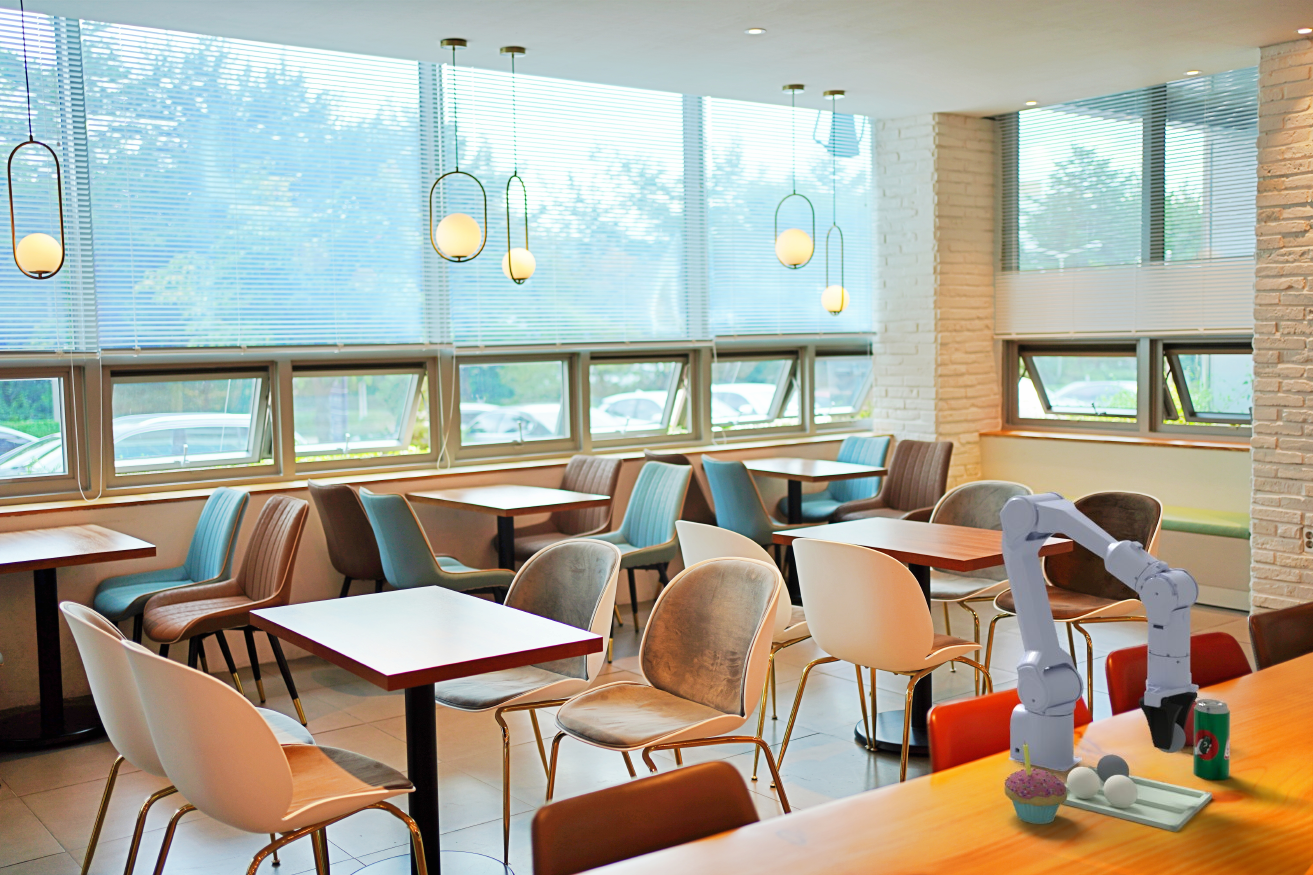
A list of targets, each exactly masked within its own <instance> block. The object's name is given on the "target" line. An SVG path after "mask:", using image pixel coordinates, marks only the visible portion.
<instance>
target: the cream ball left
mask: <svg viewBox="0 0 1313 875" xmlns="http://www.w3.org/2000/svg"><path fill="white" fill-rule="evenodd" d="M1066 783H1067V785H1068V788H1069V790H1070V791H1071V793H1072V794H1073V795H1075V796H1076V797H1078V798H1081V799H1089V798H1092V797H1094V796H1095V795H1096V794H1097V793H1098V791H1099V789H1100V780H1099V778H1098V776H1097V774H1096V773H1095V772H1094V771H1093V770H1091V769H1090V768H1089V767H1087V766H1077V767H1074V768H1073V769H1071V771H1070V772H1068V775H1067V778H1066Z"/></svg>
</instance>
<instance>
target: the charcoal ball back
mask: <svg viewBox="0 0 1313 875" xmlns="http://www.w3.org/2000/svg"><path fill="white" fill-rule="evenodd" d="M1129 767H1130V766H1129V765H1128V763H1127V762H1126V761H1125V759H1124V758H1122V757H1121V756H1118V755H1116V754H1106V755H1104V756H1102V757H1101V758H1100V759H1099V761H1098V763H1097V766H1096V768H1097V773H1098V776H1099V777H1100V779H1101V780H1102V781H1103V782H1104V783H1105V782H1106V780H1107V779H1108V778H1110V777H1111V776H1114V775H1123V776H1126V777H1129V775H1130V768H1129Z"/></svg>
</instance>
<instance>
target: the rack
mask: <svg viewBox="0 0 1313 875" xmlns="http://www.w3.org/2000/svg"><path fill="white" fill-rule="evenodd" d="M1088 768H1090V769H1091V770H1093V771H1094V772H1095V773H1096V774H1097V776H1098V773H1097V766H1096V767H1095V766H1088ZM1098 778H1099V780H1100V789H1099V791H1098V793H1097V794H1096V795H1095V796H1094V797H1092V798H1089V799H1081V798H1078V797H1076V796H1075V795H1073V794H1072V793H1071V791H1070V790H1069V788H1068V785H1067V782H1066V783H1064V785H1065V786H1066V792H1067V799H1066V800H1065V802H1064V803H1062V804H1061V805H1065V806H1071V807H1075V808H1078V809H1082V810H1086V811H1090V812H1094V813H1099V814H1102V815H1106V816H1110V817H1114V818H1118V819H1123V820H1127V821H1132V822H1135V823H1139V824H1143V825H1148V826H1151V827H1155V828H1159V829H1163V830H1166V831H1171V832H1174V833H1175V832H1178V831H1179V830H1180V829H1181V828H1182V827H1183V826H1184V825H1185V824H1187V822H1189V821H1190V820H1191V819H1192V817H1194V816H1195V815H1196V814H1197V813H1198V812H1199V811H1201V809H1202V808H1203V807H1204V806H1206V805H1207V804H1208V803H1209V802H1210V801H1211V800H1212V799H1213V793H1212V792H1209V791H1203V790H1199V789H1195V788H1190V787H1186V786H1182V785H1177V784H1171V783H1168V782H1163V781H1159V780H1154V779H1149V778H1146V777H1140V776H1135V775H1131V774H1129V777H1128V778H1130V779H1131V780H1132V781H1133V782H1134V784H1135V785H1136V788H1137V792H1138V795H1137V799H1136V801H1135V802H1134V804H1132V805H1131V806H1129V807H1127V808H1118V807H1115V806H1113V805H1112V804H1110V803H1109V802H1108V801H1107V799H1106V798H1105V795H1104V791H1103V788H1104V784H1105V783H1104V782H1103V781H1102V780H1101V779H1100V777H1099V776H1098Z"/></svg>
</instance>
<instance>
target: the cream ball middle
mask: <svg viewBox="0 0 1313 875" xmlns="http://www.w3.org/2000/svg"><path fill="white" fill-rule="evenodd" d="M1103 791H1104V795H1105V798H1106V799H1107V801H1108V802H1109V803H1110V804H1112V805H1113V806H1115V807H1118V808H1127V807H1129V806H1131V805H1132V804H1134V802H1135V801H1136V799H1137V795H1138V792H1137V788H1136V785H1135V784H1134V782H1133V781H1132V780H1131V779H1130V778H1128V777H1126V776H1123V775H1114V776H1111V777H1110V778H1108V779H1107V780H1106V782H1105V784H1104V788H1103Z"/></svg>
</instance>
